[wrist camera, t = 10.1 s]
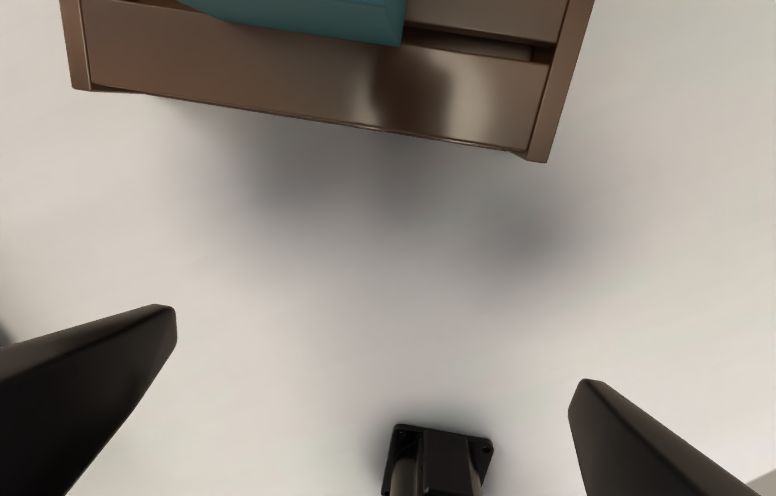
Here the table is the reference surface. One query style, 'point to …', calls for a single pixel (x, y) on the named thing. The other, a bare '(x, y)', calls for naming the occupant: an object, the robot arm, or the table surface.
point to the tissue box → (316, 17)
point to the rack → (349, 67)
